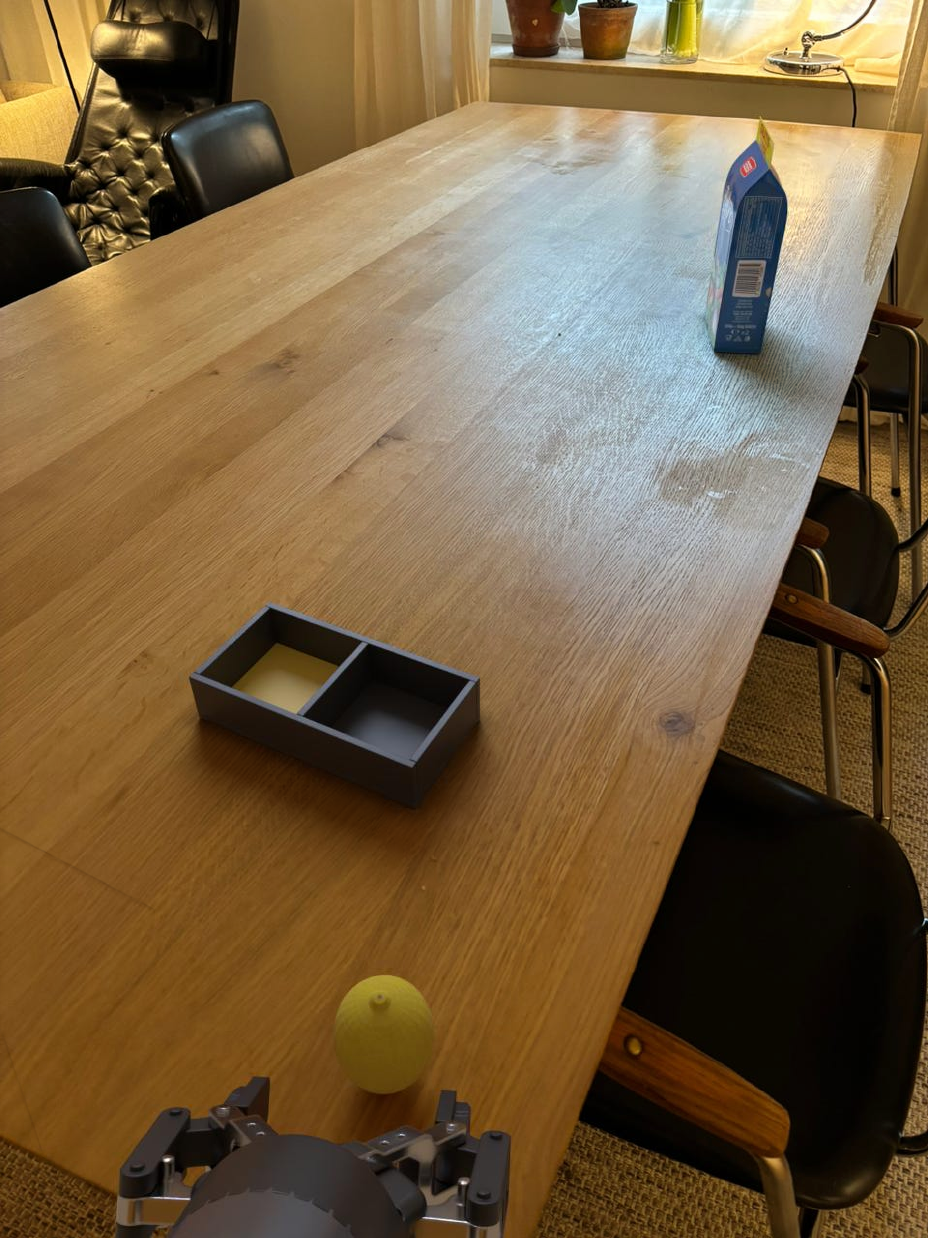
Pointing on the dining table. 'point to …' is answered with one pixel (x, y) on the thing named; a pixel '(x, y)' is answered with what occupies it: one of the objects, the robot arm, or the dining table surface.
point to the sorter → (339, 702)
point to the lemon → (384, 1034)
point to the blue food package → (746, 250)
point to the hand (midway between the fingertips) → (354, 1105)
